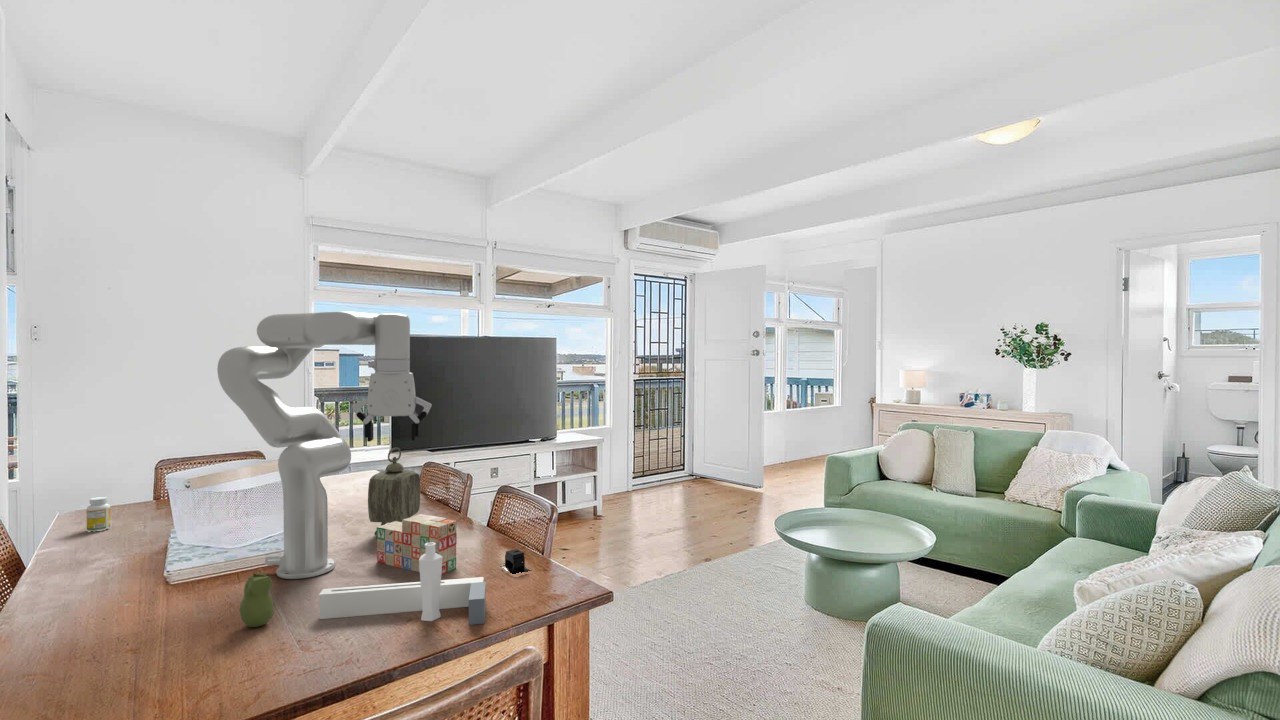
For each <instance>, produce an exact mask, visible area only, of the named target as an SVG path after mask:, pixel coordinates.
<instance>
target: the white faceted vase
mask: <svg viewBox="0 0 1280 720" xmlns="http://www.w3.org/2000/svg"><path fill="white" fill-rule="evenodd" d="M435 544H436V543H434V542H429V543H426V544H425V546H426V553H425V554H423V555H422V556H421V557H420V559H419V569H420V572H419V580H420V581H419V582H420V583H421V596H422V609H423V611H421V612H422V613H421V618H420V621H426V622H434V621H435V620H437V619H439V618H441V617H442V615H441V612H440V609H439V600H440V586H441V580H442V575H441V572H442V558H443V557H442V556H441V555H439V554H437V553H435Z"/></svg>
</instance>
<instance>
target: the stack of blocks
mask: <svg viewBox="0 0 1280 720" xmlns="http://www.w3.org/2000/svg"><path fill="white" fill-rule="evenodd" d="M376 531H377V536H376V554H377V555H376V562H377V563H380V564H384V565H388V566H391V567H395V568H400V569H405V570H409V571H414V572H419V573H420V569H419V559H420V557H421V556H422V555H423V554H425V553H426V546H425V544H426V543H429V542H434V543H436V544H435V553H437V554H439V555H441V556H442V557H443V558H442V572H441V576H442V575H444V574H447V573H449V572H452V571H454V570H456V569H457V544H458V543H457V542H458V541H457V538H458V537H457V536H458V535H457V520H455V519H449V518H447V517H442V516H433V515H428V514H423V513H420V514H415V515H413V516H411V517H410V518H407V519H404V520H402V522H397V521H394V522H391V523H386V524H385V525H382V526H381V525H380V526H376Z"/></svg>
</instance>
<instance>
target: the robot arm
mask: <svg viewBox="0 0 1280 720" xmlns="http://www.w3.org/2000/svg"><path fill="white" fill-rule="evenodd" d="M410 321H411V320H410V318H409V316H408V315H407V314H403V313H380V314H378V313H369V312H357V311H322V312H306V313H303V312H302V313H301V312H299V313H280V314H279V313H278V314H272V315H268V316H267V317H264V318H263V319H261V320H260V321H259V323H258V325H257V328H256V336H257V337H258V339H259V340H260V342H262V344H264V345H265V346H264V345H263V346H261V345H257V346H256V345H255V346H253V345H252V346H251V345H249V346H248V345H247V346H246V345H245V346H238V347H234V348H230V349H228V350H227V351H225V352H224V353H223V354H221V356H220V358H219V359H218V362H217V368H216V369H217V378H218V381H219V384H220V386H221V388H222V390H223V391H224V393H225V395H227V397H228V398H229V399H230V400H232V402H233V403H234V404H235V405H236V406H237V407H238V408H239V409H240V410H241V412H242V413H243V414H244V415H245V417H246V418H247V419H248V421H249V422H250V423H251V424H252V427H254V428H255V430H256V432H258V434H259V436H261V437H262V439H263V441H264V442H265V443H266V444H267V445H269V446H270V447H272V448H283V451H281V453H280V454H279V456H278V457H279V458H278V462H277V466H278V472H279V473H278V474H279V476H280V480H281V487H282V501H283V502H282V503H283V505H282V506H283V507H282V508H283V553H280V554H278V555H276V554H272V555H266V556H265V558H264V562H265V564H266V565H267V566H278V567H277V569H276V576H277V577H279V578H281V579H286V580H299V579H308V578H313V577H317V576H320V575H323V574H326V573H328V572H331V571H332V570H333V569H334V568H335V565H336V562H335V559H333V558H330V557H329V543H328V542H329V533H328V532H329V529H328V527H329V526H328V523H329V522H328V521H329V520H328V518H329V517H328V516H329V515H328V510H329V509H328V493H327V491H326V489H325V486H324V484H323V483H322V481H321V478H323V477H328V476H332V475H335V474H338V473H341V472H343V471H344V470H346V469H347V468H348V467H349V466H350V463H351V462H352V461H351V460H352V453H351V449H350V446H349V444H348V442H347V441H346V439H345V438H344V437H343V436H342V435H341V433H340V432H339V431H338V429H337V428H336V427H335V425H334V424H333V423H332V422H331V420H330V419H329V418H328V417H327V415H326V414H325V413H324V412H322V410H319V409H318V408H316V407H312V406H301V407H300V406H299V407H291V406H289V405H288V404H286V403H285V401H283V400H282V398H281V397H280V395H279V394H278V392H276V391H275V390H274V389H273V388H271V387H270V386H268V385H266V384H264V383H263V382H261V381H260V380H275V379H282V378H286V377H288V376H290V375H291V374H292V373H293V372H294V371H295V370H296V369H297V368H298V367H299V366H300V364H301V363H302V362H303V361H304V360H305V359H306V357H307V356H308V355H309V353H311V352H312V350H313V349H318V348H322V347H323V346H326V345H328V346H331V345H333V346H336V345H337V346H341V345H342V346H343V345H344V346H351V345H352V346H353V345H355V346H374V360H373V361H368V363H367V364H368V365H367V366H368V368H372V369H373V371H374V372H371V373H370V377H369V382H368V392H367V397H366V398H364V399H362V400H360V401H358V402H356V403H354V404H352V405H351V408H352V410H353V412H354V413H355V416H356V417H357V418H358V419H359V420H360V422H362V423H363V424H364V437H365V438H366V440H367V442H371V441H373V440H374V423H373V420H374V419H375V417H409V418H410V419H411V420H412V423H411V441H412V442H413V441H414V442H415V441H416V440H418V439H417V438H418V437H420V422H421V421H422V420H423V419H424V418H426V417H427V416H428V414H429V412H430V410H431V408H432V406H433V405H432V403H431V402H428V401H426V400H424V399H422V398H420V397H418V396H417V395H416V384H415V379H414V378H415V377H414V373H413V372H411V371H410V370H411V368H410V367H411V365H410V363H411V358H410V357H411V352H410V351H411V324H410V323H411V322H410ZM365 405H367V407H366V408H367V414H365V413H364V411H362V407H364V406H365ZM417 405H419V406H422V407H423V409H422V412H421V413H420V414H419V415H418V413H417V412H416V408H417Z"/></svg>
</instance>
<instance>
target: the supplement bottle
mask: <svg viewBox="0 0 1280 720" xmlns="http://www.w3.org/2000/svg"><path fill="white" fill-rule="evenodd" d="M107 502H108V497H107V496H97V497H92V498H91V497H90V498H89V504H90V505H88V506H87V507H86V531H87V530H88V531H97V530H104V529H107V528H109V527H110V528H111V504H109V503H107ZM110 528H109V529H110ZM88 531H87V532H88Z"/></svg>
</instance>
